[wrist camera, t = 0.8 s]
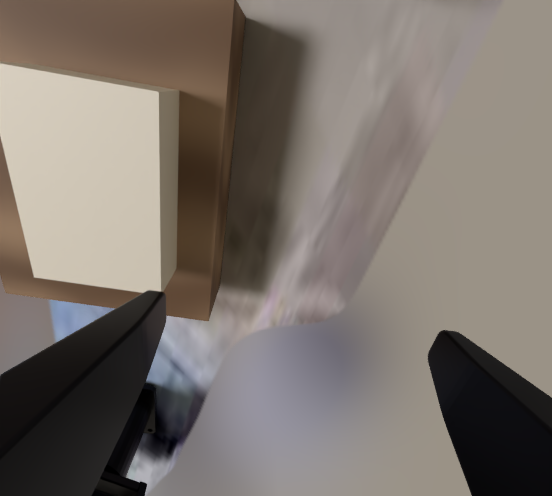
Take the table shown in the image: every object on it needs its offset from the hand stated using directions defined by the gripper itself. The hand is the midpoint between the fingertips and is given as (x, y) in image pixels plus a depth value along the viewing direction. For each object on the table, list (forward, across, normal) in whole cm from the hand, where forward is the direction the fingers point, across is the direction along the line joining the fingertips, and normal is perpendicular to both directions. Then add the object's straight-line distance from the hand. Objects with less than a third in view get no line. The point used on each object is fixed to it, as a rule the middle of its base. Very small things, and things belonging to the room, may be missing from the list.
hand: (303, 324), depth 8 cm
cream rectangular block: (+7, +9, 0) cm, 11 cm away
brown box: (+12, +10, 0) cm, 16 cm away
